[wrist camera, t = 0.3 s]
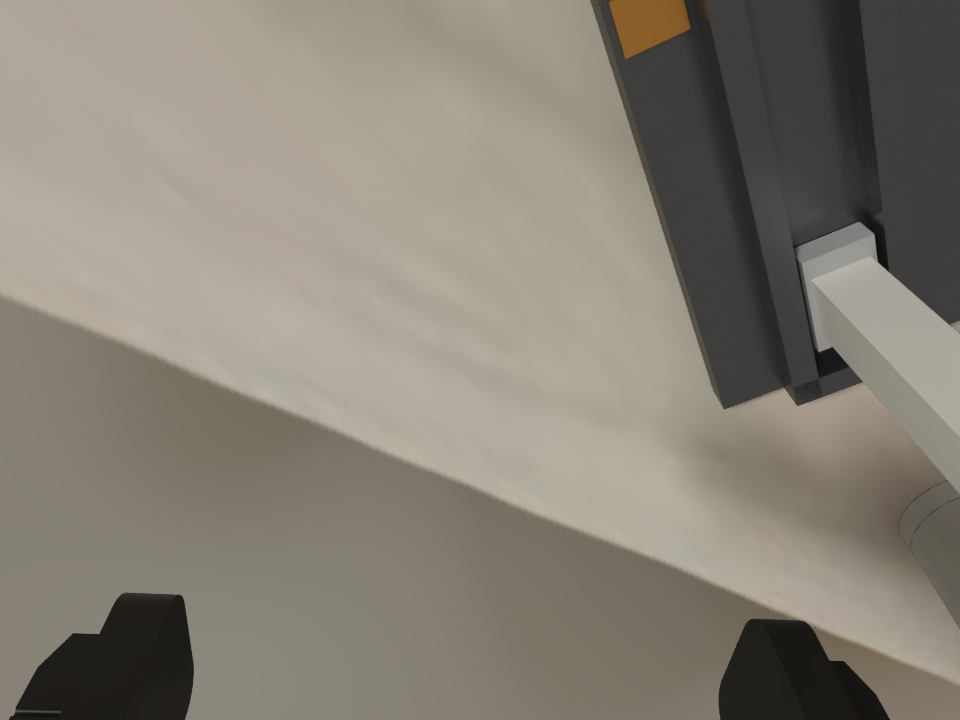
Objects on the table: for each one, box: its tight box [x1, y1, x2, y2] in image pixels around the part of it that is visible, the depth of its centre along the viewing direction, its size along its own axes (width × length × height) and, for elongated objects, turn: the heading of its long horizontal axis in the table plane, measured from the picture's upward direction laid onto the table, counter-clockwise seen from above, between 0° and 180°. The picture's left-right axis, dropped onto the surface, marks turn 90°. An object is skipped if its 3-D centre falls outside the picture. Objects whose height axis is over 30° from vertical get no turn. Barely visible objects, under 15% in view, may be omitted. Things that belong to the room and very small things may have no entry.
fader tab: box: [793, 222, 960, 494], centre depth 26 cm, size 5×4×15 cm
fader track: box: [590, 0, 960, 409], centre depth 29 cm, size 24×12×3 cm, turn 24°
